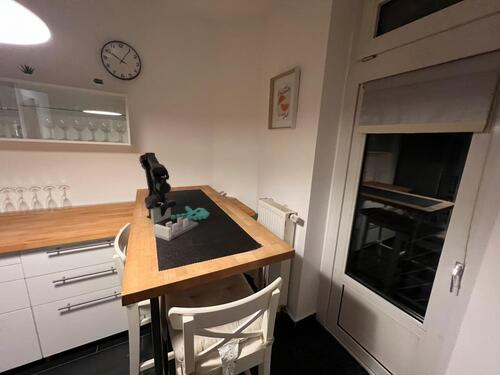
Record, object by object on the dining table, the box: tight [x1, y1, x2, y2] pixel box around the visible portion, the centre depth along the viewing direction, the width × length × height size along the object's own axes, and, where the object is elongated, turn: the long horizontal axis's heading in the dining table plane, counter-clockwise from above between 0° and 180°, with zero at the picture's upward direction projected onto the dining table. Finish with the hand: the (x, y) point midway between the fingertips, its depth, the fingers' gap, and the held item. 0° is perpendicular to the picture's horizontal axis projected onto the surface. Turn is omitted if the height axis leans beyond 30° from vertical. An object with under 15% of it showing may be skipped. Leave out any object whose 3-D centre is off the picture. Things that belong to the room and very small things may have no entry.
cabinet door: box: [150, 207, 172, 225], centre depth 117 cm, size 3×12×8 cm, turn 155°
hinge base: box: [153, 217, 199, 242], centre depth 113 cm, size 10×22×6 cm, turn 155°
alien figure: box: [170, 205, 210, 222], centre depth 136 cm, size 20×2×20 cm
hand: (161, 216), depth 117 cm, fingers closed on cabinet door, 2 cm apart
